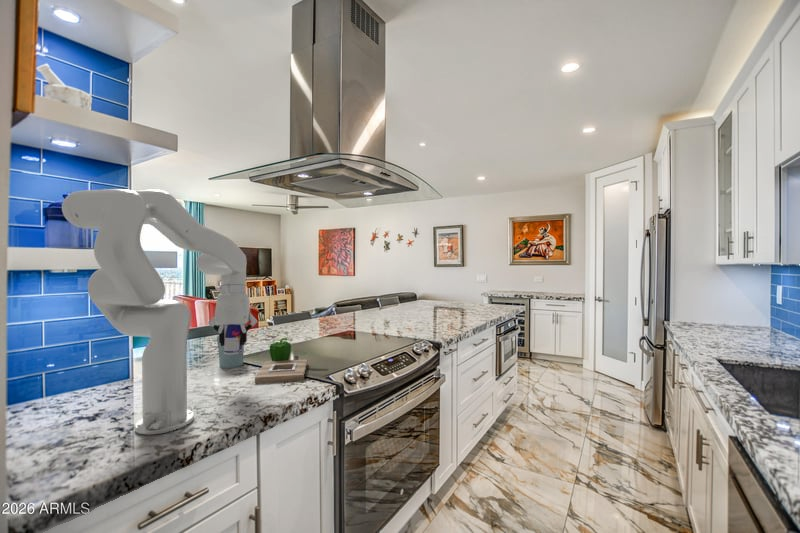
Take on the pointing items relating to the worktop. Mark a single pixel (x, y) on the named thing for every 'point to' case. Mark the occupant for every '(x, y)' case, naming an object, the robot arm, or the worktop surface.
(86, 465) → the worktop surface
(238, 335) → the energy drink
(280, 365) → the slotted board
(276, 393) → the worktop surface
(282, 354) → the bell pepper
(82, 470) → the worktop surface
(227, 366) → the grey teal cup
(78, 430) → the worktop surface
